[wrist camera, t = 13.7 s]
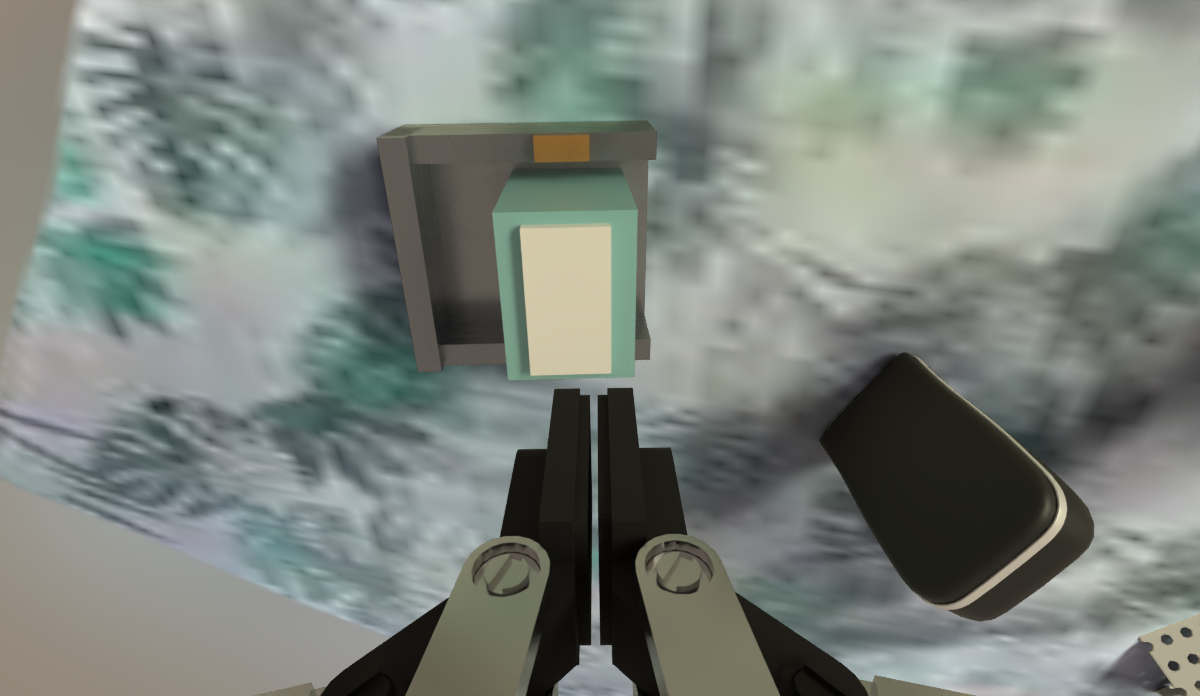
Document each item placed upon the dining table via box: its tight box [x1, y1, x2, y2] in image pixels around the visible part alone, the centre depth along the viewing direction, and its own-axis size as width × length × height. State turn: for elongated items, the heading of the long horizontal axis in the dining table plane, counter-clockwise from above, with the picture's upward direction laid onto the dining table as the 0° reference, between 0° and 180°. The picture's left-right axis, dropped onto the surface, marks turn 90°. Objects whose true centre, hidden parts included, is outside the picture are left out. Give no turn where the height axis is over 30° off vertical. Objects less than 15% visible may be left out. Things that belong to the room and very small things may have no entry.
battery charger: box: [820, 353, 1094, 621], centre depth 27 cm, size 7×4×11 cm, turn 148°
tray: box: [377, 121, 657, 372], centre depth 25 cm, size 10×10×4 cm
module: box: [492, 168, 638, 380], centre depth 23 cm, size 4×6×7 cm
